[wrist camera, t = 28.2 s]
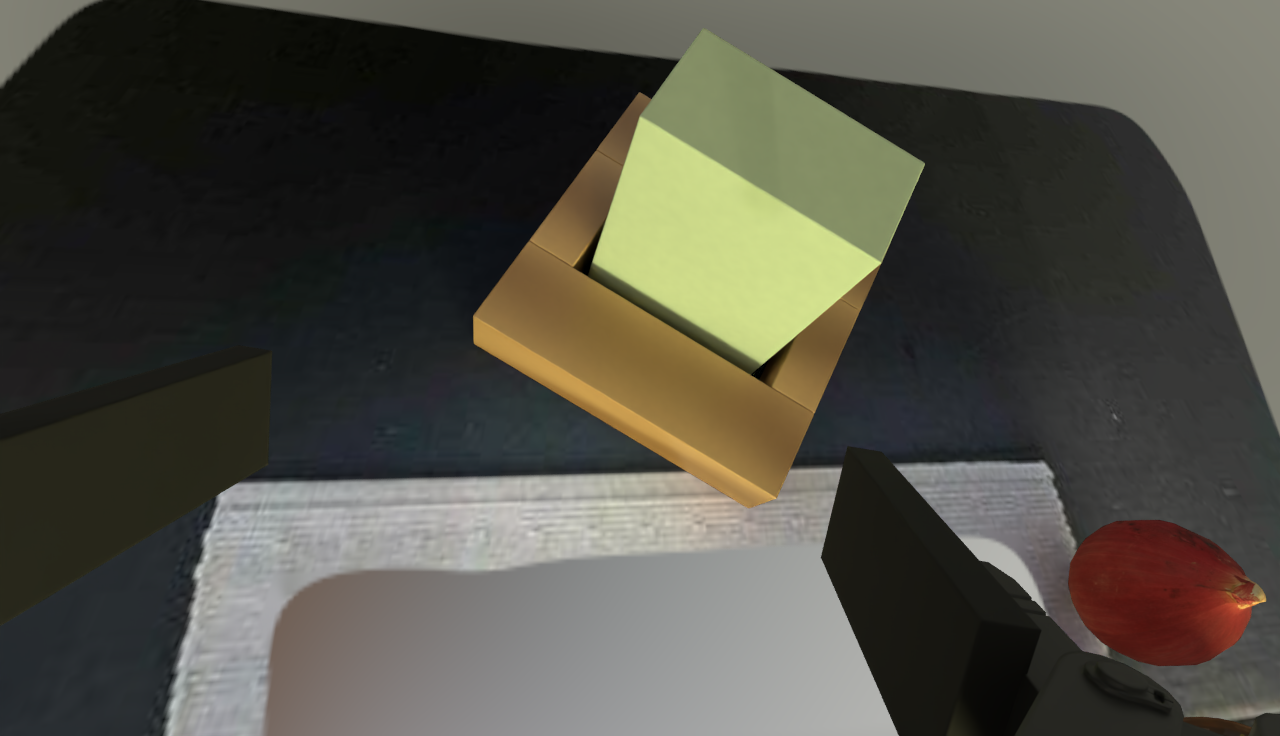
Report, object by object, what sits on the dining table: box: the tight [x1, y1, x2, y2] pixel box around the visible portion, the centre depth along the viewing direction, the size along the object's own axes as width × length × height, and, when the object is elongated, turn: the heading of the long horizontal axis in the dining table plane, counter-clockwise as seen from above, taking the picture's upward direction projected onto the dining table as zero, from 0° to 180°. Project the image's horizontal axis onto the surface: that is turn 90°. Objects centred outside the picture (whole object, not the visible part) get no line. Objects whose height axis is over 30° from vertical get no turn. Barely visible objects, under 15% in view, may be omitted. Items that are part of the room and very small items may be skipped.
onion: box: [1068, 520, 1266, 666], centre depth 28 cm, size 6×6×8 cm
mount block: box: [473, 92, 888, 508], centre depth 30 cm, size 14×14×3 cm
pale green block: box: [588, 28, 925, 375], centre depth 26 cm, size 4×8×12 cm, turn 61°
